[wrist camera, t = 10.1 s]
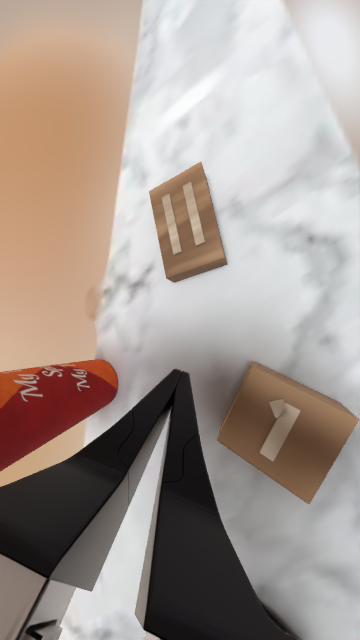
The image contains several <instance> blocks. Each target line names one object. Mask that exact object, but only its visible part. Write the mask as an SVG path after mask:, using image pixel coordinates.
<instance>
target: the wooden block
mask: <svg viewBox="0 0 360 640" xmlns="http://www.w3.org/2000/svg"><path fill="white" fill-rule="evenodd" d="M149 194H150V199H151V204H152V209H153V214H154V219H155V224H156V229H157V234H158V239H159V244H160V249H161V254H162V259H163V264H164V269H165V274H166V278H167V279H169V280H170V281H172V282H177V281H180V280H183V279H186V278H189V277H192V276H195V275H198V274H201V273H204V272H206V271H209V270H212V269H215V268H218V267H221V266H224V265H227V262H226V258H225V253H224V249H223V245H222V241H221V237H220V233H219V229H218V225H217V221H216V216H215V212H214V208H213V204H212V200H211V196H210V192H209V188H208V184H207V179H206V176H205V173H204V169H203V166H202V163H201V162H199V163H198V164H196V165H194V166H192V167H191V168H189V169H187V170H186V171H184V172H182V173H180V174H179V175H177V176H175V177H173V178H172V179H170V180H168V181H167V182H165V183H163V184H161V185H160V186H158V187H156V188H155V189H153V190H151V191H149Z"/></svg>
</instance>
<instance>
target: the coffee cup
mask: <svg viewBox="0 0 360 640" xmlns="http://www.w3.org/2000/svg"><path fill="white" fill-rule="evenodd" d="M117 389H118V380H117V375H116V373H115V370H114V369H113V367H112V366H111V365H110V364H109V363H108V362H106V361H104V360H89V361H81V362H73V363H65V364H58V365H51V366H42V367H35V368H27V369H20V370H13V371H5V372H0V471H2V470H3V469H5V468H7V467H8V466H10V465H11V464H13V463H15V462H16V461H18V460H19V459H21V458H23V457H24V456H26V455H28V454H29V453H31V452H32V451H34V450H36V449H37V448H39V447H41V446H42V445H44V444H45V443H47V442H48V441H50V440H52V439H53V438H55V437H57V436H58V435H60V434H61V433H63V432H64V431H66V430H68V429H70V428H71V427H73V426H74V425H76V424H77V423H79V422H80V421H82V420H84V419H85V418H87V417H89V416H90V415H92V414H93V413H95V412H97V411H98V410H100V409H101V408H103V407H104V406H106V405H107V404H109V403H110V402H111V401H112V400H113V399H114V397H115V395H116V393H117Z"/></svg>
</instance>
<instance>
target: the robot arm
mask: <svg viewBox="0 0 360 640" xmlns="http://www.w3.org/2000/svg"><path fill="white" fill-rule="evenodd" d="M171 407H172V408H171ZM170 410H171V412H170ZM169 413H170V418H169V423H168V429H167V435H166V440H165V446H164V452H163V457H162V463H161V468H160V474H159V480H158V485H157V491H156V497H155V502H154V508H153V514H152V519H151V525H150V530H149V536H148V542H147V547H146V553H145V559H144V564H143V570H142V575H141V581H140V587H139V592H138V598H137V604H136V609H135V615H136V617H137V619H138V620H139V622H140V624H141V626H142V628H143V629H144V630H145V631H146V637H145V640H300V639H298V638H296V637H294V636H292V635H290V634H288V633H287V632H286V631H285V630H284V629H283V628H282V627H281V626H280V625H279V623H278V622H277V621H276V620H275V619H274V618H273V617H272V616H271V615H270V614H269V612H268V611H267V610H266V609H265V608H264V607H263V606H262V605H261V604H260V602H259V600H258V598H257V596H256V594H255V592H254V590H253V587H252V585H251V583H250V581H249V579H248V577H247V575H246V573H245V571H244V569H243V567H242V565H241V562H240V560H239V558H238V556H237V554H236V552H235V550H234V548H233V546H232V544H231V542H230V539H229V537H228V535H227V533H226V531H225V529H224V526H223V523H222V521H221V518H220V515H219V512H218V508H217V505H216V501H215V498H214V494H213V491H212V487H211V483H210V480H209V476H208V473H207V469H206V465H205V461H204V457H203V452H202V447H201V442H200V436H199V430H198V424H197V418H196V412H195V406H194V400H193V394H192V388H191V382H190V376H189V373H188V372H184V371H182V372H181V370H178V369H174V370H173V371H172V372H171V373H169V374H168V375H167V376H166V377H165V378H164V379H163V380H162V381H161V382H160V383H159V384H158V385H157V386H156V387H155V388H154V389H152V390H151V391H150V392H149V393H148V394H147V395H146V396H145V397H144V398H143V399H142V400H141V401H140V402H139V403H138V404H136V405H135V406H134V407H133V408H132V410H130V411H129V412H128V413H127V414H126V415H125V416H124V417H122V418H121V419H120V420H119V421H118V422H117V423H116V424H114V425H113V426H112V427H111V428H109V429H108V430H107V431H105V432H104V433H103V434H101V435H100V436H99V437H98V438H96V439H95V440H94V441H92V442H91V443H90V444H88V445H87V446H86V447H84V448H83V449H82V450H80V451H79V452H78V453H76V454H75V455H73V456H72V457H70V458H68V459H67V460H65V461H63V462H61V463H58V464H56V465H53V466H51V467H49V468H46V469H44V470H41V471H39V472H37V473H34V474H32V475H29V476H27V477H24V478H22V479H20V480H17V481H15V482H12V483H10V484H8V485H5V486H2V487H0V640H58V639H59V637H60V634H61V632H62V629H63V628H61V627H60V624H61V622H62V620H63V617H64V615H65V612H66V610H67V608H68V605H69V603H70V601H71V598H72V596H73V593H74V591H75V589H76V587H77V588H81V589H84V590H88V591H92V590H93V588H94V585H95V583H96V581H97V578H98V576H99V574H100V571H101V569H102V567H103V565H104V562H105V560H106V558H107V555H108V553H109V551H110V548H111V546H112V544H113V542H114V539H115V537H116V535H117V532H118V530H119V528H120V525H121V523H122V521H123V519H124V516H125V514H126V512H127V509H128V506H129V505H130V502H131V500H132V498H133V496H134V493H135V491H136V489H137V486H138V484H139V482H140V479H141V477H142V475H143V473H144V470H145V468H146V466H147V463H148V461H149V459H150V457H151V454H152V452H153V450H154V447H155V445H156V443H157V440H158V438H159V436H160V434H161V431H162V429H163V427H164V424H165V422H166V420H167V417H168V415H169Z"/></svg>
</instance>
